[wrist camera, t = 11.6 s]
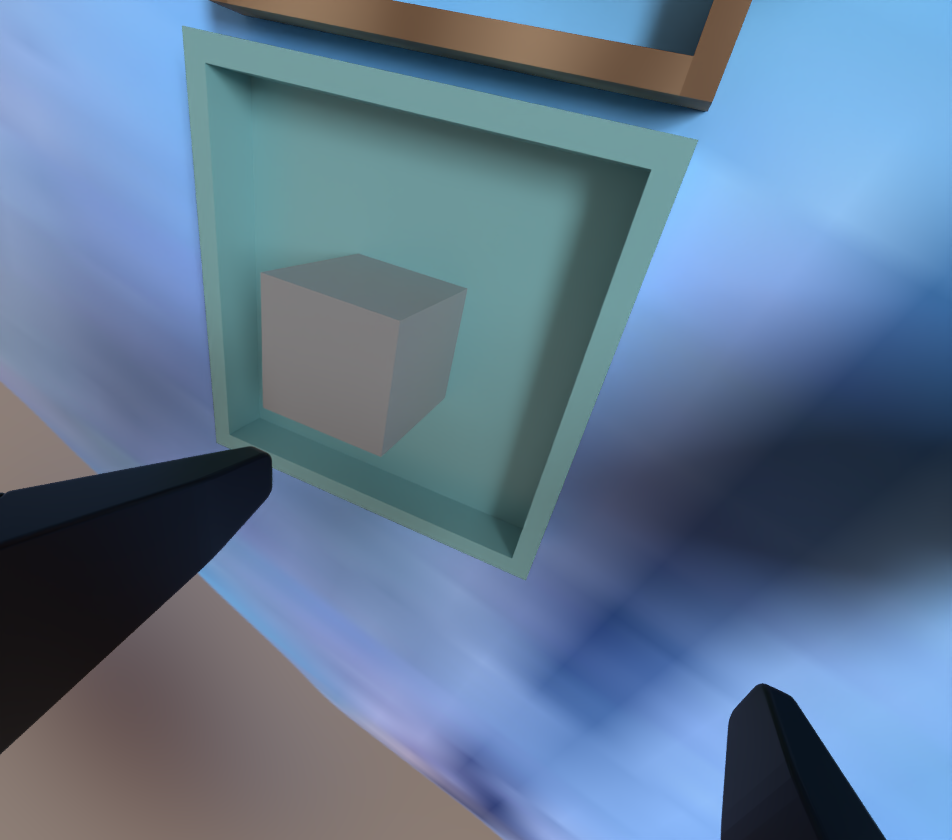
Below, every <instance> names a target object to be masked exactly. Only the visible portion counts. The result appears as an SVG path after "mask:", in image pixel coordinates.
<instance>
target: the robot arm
mask: <svg viewBox="0 0 952 840" xmlns="http://www.w3.org/2000/svg"><path fill="white" fill-rule="evenodd" d="M271 490H272V458H271V456H270V454H268V453H267V452H265V451H263V450H260V449H258V448H256V447H253V446H247V447H241V448H236V449H231V450H225V451H220V452H215V453H209V454H204V455H199V456H193V457H188V458H183V459H177V460H172V461H167V462H161V463H156V464H151V465H145V466H140V467H135V468H129V469H124V470H119V471H113V472H108V473H103V474H98V475H92V476H87V477H82V478H76V479H71V480H66V481H60V482H55V483H50V484H45V485H40V486H34V487H29V488H23V489H18V490H12V491H9V492H7V493H0V754H1V753H2V752H3V751H5V750H6V749H7V748H8V747H9V746H10V745H11V744H12V743H13V742H14V741H15V740H16V739H18V738H19V737H20V736H21V735H22V734H23V733H24V732H25V731H26V730H27V729H28V728H29V727H31V726H32V725H33V724H34V723H35V722H36V721H37V720H38V719H39V718H40V717H41V716H43V715H44V714H45V713H46V712H47V711H48V710H49V709H50V708H51V707H52V706H53V705H54V704H56V703H57V702H58V701H59V700H60V699H61V698H62V697H63V696H64V695H65V694H66V693H68V691H70V690H71V689H72V688H73V687H74V686H75V685H76V684H77V683H78V682H79V681H81V679H83V678H84V677H85V676H86V675H87V674H88V673H89V672H90V671H91V670H92V669H94V668H95V667H96V666H97V665H98V664H99V663H100V662H101V661H102V660H103V659H104V658H106V656H108V655H109V654H110V653H111V652H112V651H113V650H114V649H115V648H116V647H117V646H119V645H120V644H121V643H122V642H123V641H124V640H125V639H126V638H127V637H128V636H129V635H130V634H131V633H133V632H134V631H135V630H136V629H137V628H138V627H139V626H140V625H141V624H142V623H144V622H145V621H146V620H147V619H148V618H149V617H150V616H151V615H152V614H153V613H154V612H155V611H157V610H158V609H159V608H160V607H161V606H162V605H163V604H164V603H165V602H166V601H167V600H168V599H170V598H171V597H172V596H173V595H174V594H175V593H176V592H177V591H178V590H179V589H180V588H182V587H183V586H184V585H185V584H186V583H187V582H188V581H189V580H190V579H191V578H192V577H194V576H195V575H196V574H197V573H198V572H199V571H200V570H201V569H202V568H203V567H204V566H205V565H206V564H207V563H208V562H209V561H210V560H212V559H213V557H214V556H215V555H216V554H217V553H218V552H219V551H220V550H221V549H222V548H223V547H224V546H225V545H226V544H227V542H228V541H229V540H230V539H231V538H232V537H233V536H234V535H235V534H236V532H237V531H238V530H239V529H240V528H241V527H242V526H243V525H244V524H245V522H246V521H247V520H248V519H249V518H250V517H251V516H252V515H253V514H254V512H255V511H256V510H257V509H258V508H259V507H260V506H261V505H262V504H263V502H264V501H265V500H266V499H267V498H268V496H269V495H270V492H271ZM721 840H886V838H885V837H884V835H883V834H882V832H881V831H880V829H879V828H878V826H877V825H876V823H875V822H874V820H873V818H872V817H871V815H870V814H869V812H868V811H867V809H866V808H865V806H864V805H863V803H862V802H861V800H860V799H859V797H858V796H857V794H856V793H855V791H854V790H853V788H852V786H851V785H850V783H849V782H848V780H847V779H846V777H845V776H844V774H843V773H842V771H841V770H840V768H839V767H838V765H837V764H836V762H835V761H834V759H833V758H832V756H831V754H830V753H829V751H828V750H827V748H826V747H825V745H824V744H823V742H822V741H821V739H820V738H819V736H818V735H817V733H816V732H815V730H814V729H813V727H812V725H811V724H810V722H809V721H808V719H807V718H806V716H805V715H804V713H803V712H802V710H801V709H800V707H799V706H798V704H797V703H796V701H795V700H794V699H793V698H792V697H791V696H790V695H788V694H786V693H784V692H782V691H780V690H778V689H776V688H773V687H771V686H769V685H767V684H763V683H762V684H758V685H756V686H755V687H754V688H753V689H752V690H751V691H750V693H749V694H748V695H747V696H746V697H745V698H744V699H743V700H742V701H741V702H740V703H739V704H738V706H737V707H736V708H735V709H734V710H733V712H732V714H731V716H730V719H729V724H728V736H727V750H726V764H725V777H724V791H723V805H722V820H721Z"/></svg>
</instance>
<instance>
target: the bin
mask: <svg viewBox="0 0 952 840" xmlns="http://www.w3.org/2000/svg"><path fill="white" fill-rule="evenodd" d="M182 32H183V44H184V56H185V68H186V80H187V92H188V104H189V116H190V128H191V140H192V152H193V165H194V177H195V189H196V201H197V213H198V225H199V237H200V249H201V261H202V273H203V285H204V297H205V309H206V321H207V333H208V345H209V357H210V369H211V381H212V393H213V405H214V417H215V429H216V441H217V443H218V444H220V445H223V446H225V447H227V448H229V449H236V448H241V447H247V446H253V447H256V448H258V449H260V450H263V451H265V452H267V453H268V454H270V456H271V458H272V468H274V469H277V470H279V471H281V472H283V473H286V474H288V475H290V476H292V477H294V478H297V479H299V480H301V481H303V482H306V483H308V484H310V485H312V486H315V487H317V488H319V489H321V490H324V491H326V492H328V493H330V494H333V495H335V496H337V497H339V498H342V499H344V500H346V501H348V502H351V503H353V504H355V505H357V506H360V507H362V508H364V509H366V510H369V511H371V512H373V513H375V514H378V515H380V516H382V517H384V518H387V519H389V520H391V521H393V522H395V523H398V524H400V525H402V526H404V527H407V528H409V529H411V530H413V531H416V532H418V533H420V534H422V535H425V536H427V537H429V538H431V539H434V540H436V541H438V542H440V543H443V544H445V545H447V546H449V547H452V548H454V549H456V550H458V551H461V552H463V553H465V554H467V555H470V556H472V557H474V558H476V559H479V560H481V561H483V562H485V563H487V564H490V565H492V566H494V567H496V568H499V569H501V570H503V571H505V572H508V573H510V574H512V575H514V576H517V577H519V578H521V579H523V580H526V578H527V576H528V573H529V571H530V568H531V565H532V563H533V560H534V558H535V555H536V553H537V550H538V548H539V545H540V543H541V540H542V537H543V535H544V532H545V530H546V527H547V525H548V522H549V520H550V517H551V514H552V512H553V509H554V507H555V504H556V502H557V499H558V497H559V494H560V491H561V489H562V486H563V484H564V481H565V479H566V476H567V474H568V471H569V469H570V466H571V463H572V461H573V458H574V456H575V453H576V451H577V448H578V446H579V443H580V440H581V438H582V435H583V433H584V430H585V428H586V425H587V423H588V420H589V417H590V415H591V412H592V410H593V407H594V405H595V402H596V400H597V397H598V395H599V392H600V389H601V387H602V384H603V382H604V379H605V377H606V374H607V372H608V369H609V366H610V364H611V361H612V359H613V356H614V354H615V351H616V349H617V346H618V343H619V341H620V338H621V336H622V333H623V331H624V328H625V326H626V323H627V321H628V318H629V315H630V313H631V310H632V308H633V305H634V303H635V300H636V298H637V295H638V292H639V290H640V287H641V285H642V282H643V280H644V277H645V275H646V272H647V269H648V267H649V264H650V262H651V259H652V257H653V254H654V252H655V249H656V247H657V244H658V241H659V239H660V236H661V234H662V231H663V229H664V226H665V224H666V221H667V218H668V216H669V213H670V211H671V208H672V206H673V203H674V201H675V198H676V195H677V193H678V190H679V188H680V185H681V183H682V180H683V178H684V175H685V173H686V170H687V167H688V165H689V162H690V160H691V157H692V155H693V152H694V150H695V147H696V144H697V142H698V140H696V139H691V138H687V137H682V136H678V135H673V134H669V133H664V132H660V131H655V130H651V129H646V128H642V127H637V126H633V125H628V124H624V123H619V122H615V121H610V120H606V119H601V118H597V117H592V116H588V115H583V114H579V113H574V112H570V111H565V110H561V109H556V108H551V107H547V106H542V105H538V104H533V103H529V102H524V101H520V100H515V99H511V98H506V97H502V96H497V95H493V94H488V93H484V92H479V91H475V90H470V89H466V88H461V87H457V86H452V85H448V84H443V83H439V82H434V81H430V80H425V79H421V78H416V77H411V76H407V75H402V74H398V73H393V72H389V71H384V70H380V69H375V68H371V67H366V66H362V65H357V64H353V63H348V62H344V61H339V60H335V59H330V58H326V57H321V56H317V55H312V54H308V53H303V52H299V51H294V50H290V49H285V48H281V47H276V46H272V45H267V44H262V43H258V42H253V41H249V40H244V39H240V38H235V37H231V36H226V35H222V34H217V33H213V32H208V31H204V30H199V29H195V28H190V27H186V26H182ZM358 253H359V254H362V255H365V256H368V257H371V258H374V259H377V260H380V261H384V262H387V263H390V264H393V265H396V266H399V267H402V268H405V269H408V270H411V271H415V272H418V273H421V274H424V275H427V276H430V277H433V278H436V279H439V280H443V281H446V282H449V283H452V284H455V285H458V286H461V287H464V288H467V289H468V290H467V294H466V299H465V304H464V309H463V314H462V318H461V323H460V328H459V333H458V338H457V342H456V347H455V352H454V357H453V362H452V367H451V371H450V376H449V381H448V386H447V391H446V395H445V398H444V399H443V400H442V401H441V402H440V403H439V404H438V405H437V406H436V407H435V408H434V409H433V410H431V411H430V412H429V413H428V414H427V415H426V416H425V417H424V418H423V419H422V420H421V421H420V422H418V423H417V424H416V425H415V426H414V427H413V428H412V429H411V430H410V431H409V432H408V433H407V434H406V435H404V436H403V437H402V438H401V439H400V440H399V441H398V442H397V443H396V444H395V445H394V446H393V447H392V448H390V449H389V450H388V451H387V452H386V453H385V454H384V455H383V456H382V457H380V456H377V455H375V454H372V453H370V452H368V451H365V450H363V449H360V448H358V447H356V446H353V445H351V444H349V443H346V442H344V441H341V440H339V439H337V438H334V437H332V436H329V435H327V434H325V433H322V432H320V431H318V430H315V429H313V428H310V427H308V426H306V425H303V424H301V423H298V422H296V421H294V420H291V419H289V418H287V417H284V416H282V415H279V414H277V413H275V412H272V411H270V410H267V409H265V408H263V384H262V328H261V273H260V272H265V271H270V270H275V269H280V268H285V267H291V266H296V265H301V264H306V263H311V262H317V261H322V260H327V259H332V258H338V257H343V256H348V255H353V254H358Z"/></svg>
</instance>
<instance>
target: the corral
mask: <svg viewBox="0 0 952 840" xmlns="http://www.w3.org/2000/svg"><path fill="white" fill-rule="evenodd" d="M210 1H212V2H214V3H217V4H219V5H221V6H224V7H226V8H228V9H231V10H233V11H235V12H238V13H240V14H242V15H246V16H251V17H256V18H260V19H265V20H270V21H275V22H280V23H284V24H289V25H294V26H299V27H304V28H308V29H313V30H318V31H323V32H328V33H332V34H337V35H342V36H347V37H352V38H356V39H361V40H366V41H371V42H376V43H380V44H385V45H390V46H395V47H400V48H404V49H409V50H414V51H419V52H424V53H428V54H433V55H438V56H443V57H448V58H452V59H457V60H462V61H467V62H472V63H476V64H481V65H486V66H491V67H496V68H500V69H505V70H510V71H515V72H520V73H524V74H529V75H534V76H539V77H544V78H548V79H553V80H558V81H563V82H568V83H572V84H577V85H582V86H587V87H592V88H596V89H601V90H606V91H611V92H616V93H620V94H625V95H630V96H635V97H640V98H644V99H649V100H654V101H659V102H664V103H668V104H673V105H678V106H683V107H688V108H692V109H697V110H702V111H708V109H709V107H710V105H711V103H712V101H713V99H714V96H715V94H716V91H717V88H718V86H719V83H720V81H721V78H722V76H723V73H724V71H725V68H726V65H727V63H728V60H729V58H730V55H731V53H732V50H733V48H734V45H735V42H736V40H737V37H738V35H739V32H740V30H741V27H742V24H743V22H744V19H745V17H746V14H747V12H748V9H749V7H750V4H751V1H752V0H714V1H713V4H712V6H711V9H710V12H709V15H708V18H707V20H706V23H705V26H704V29H703V31H702V34H701V37H700V40H699V43H698V45H697V48H696V51H695V54H694V56H690V55H685V54H679V53H674V52H668V51H663V50H658V49H652V48H647V47H641V46H636V45H631V44H625V43H620V42H614V41H609V40H604V39H598V38H593V37H588V36H582V35H577V34H571V33H566V32H561V31H555V30H550V29H544V28H539V27H534V26H528V25H523V24H517V23H512V22H507V21H501V20H496V19H491V18H485V17H480V16H474V15H469V14H464V13H458V12H453V11H447V10H442V9H437V8H431V7H426V6H420V5H415V4H410V3H404V2H399V1H393V0H210Z"/></svg>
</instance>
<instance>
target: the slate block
mask: <svg viewBox="0 0 952 840" xmlns="http://www.w3.org/2000/svg"><path fill="white" fill-rule="evenodd" d="M260 273H261V328H262V384H263V408H265V409H267V410H270V411H272V412H275V413H277V414H279V415H282V416H284V417H287V418H289V419H291V420H294V421H296V422H298V423H301V424H303V425H306V426H308V427H310V428H313V429H315V430H318V431H320V432H322V433H325V434H327V435H329V436H332V437H334V438H337V439H339V440H341V441H344V442H346V443H349V444H351V445H353V446H356V447H358V448H360V449H363V450H365V451H368V452H370V453H372V454H375V455H377V456H380V457H382V456H383V455H384V454H385V453H386V452H387V451H388V450H389V449H390V448H392V447H393V446H394V445H395V444H396V443H397V442H398V441H399V440H400V439H401V438H402V437H403V436H404V435H406V434H407V433H408V432H409V431H410V430H411V429H412V428H413V427H414V426H415V425H416V424H417V423H418V422H420V421H421V420H422V419H423V418H424V417H425V416H426V415H427V414H428V413H429V412H430V411H431V410H433V409H434V408H435V407H436V406H437V405H438V404H439V403H440V402H441V401H442V400H443V399H444V398H445V395H446V391H447V386H448V381H449V376H450V371H451V367H452V362H453V357H454V352H455V347H456V342H457V338H458V333H459V328H460V323H461V318H462V314H463V309H464V304H465V299H466V294H467V290H468V289H467V288H464V287H461V286H458V285H455V284H452V283H449V282H446V281H443V280H439V279H436V278H433V277H430V276H427V275H424V274H421V273H418V272H415V271H411V270H408V269H405V268H402V267H399V266H396V265H393V264H390V263H387V262H384V261H380V260H377V259H374V258H371V257H368V256H365V255H362V254H359V253H358V254H353V255H348V256H343V257H338V258H332V259H327V260H322V261H317V262H311V263H306V264H301V265H296V266H291V267H285V268H280V269H275V270H270V271H265V272H260Z"/></svg>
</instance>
